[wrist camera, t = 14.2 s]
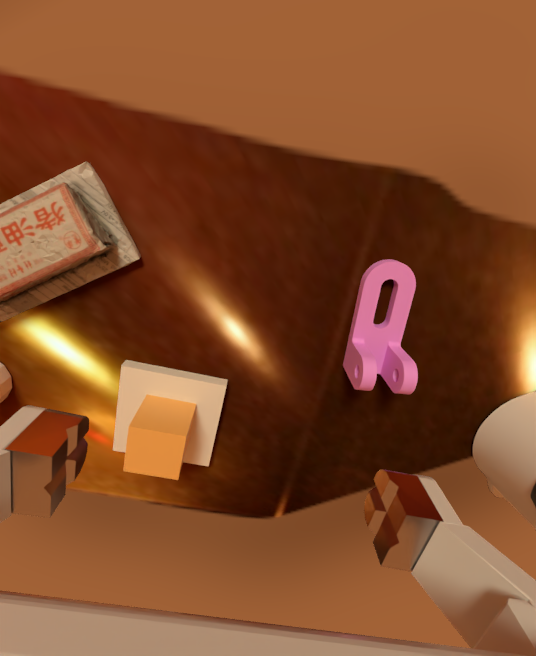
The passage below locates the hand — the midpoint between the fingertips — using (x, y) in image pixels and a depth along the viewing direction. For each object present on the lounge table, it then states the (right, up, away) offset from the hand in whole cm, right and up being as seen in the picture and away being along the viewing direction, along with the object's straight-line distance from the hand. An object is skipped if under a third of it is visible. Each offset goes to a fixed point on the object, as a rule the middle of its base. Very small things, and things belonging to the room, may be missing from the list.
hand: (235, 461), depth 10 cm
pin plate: (-11, -7, +33) cm, 36 cm away
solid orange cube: (-11, -7, +32) cm, 35 cm away
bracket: (+13, +5, +30) cm, 33 cm away
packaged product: (-22, +12, +27) cm, 37 cm away
